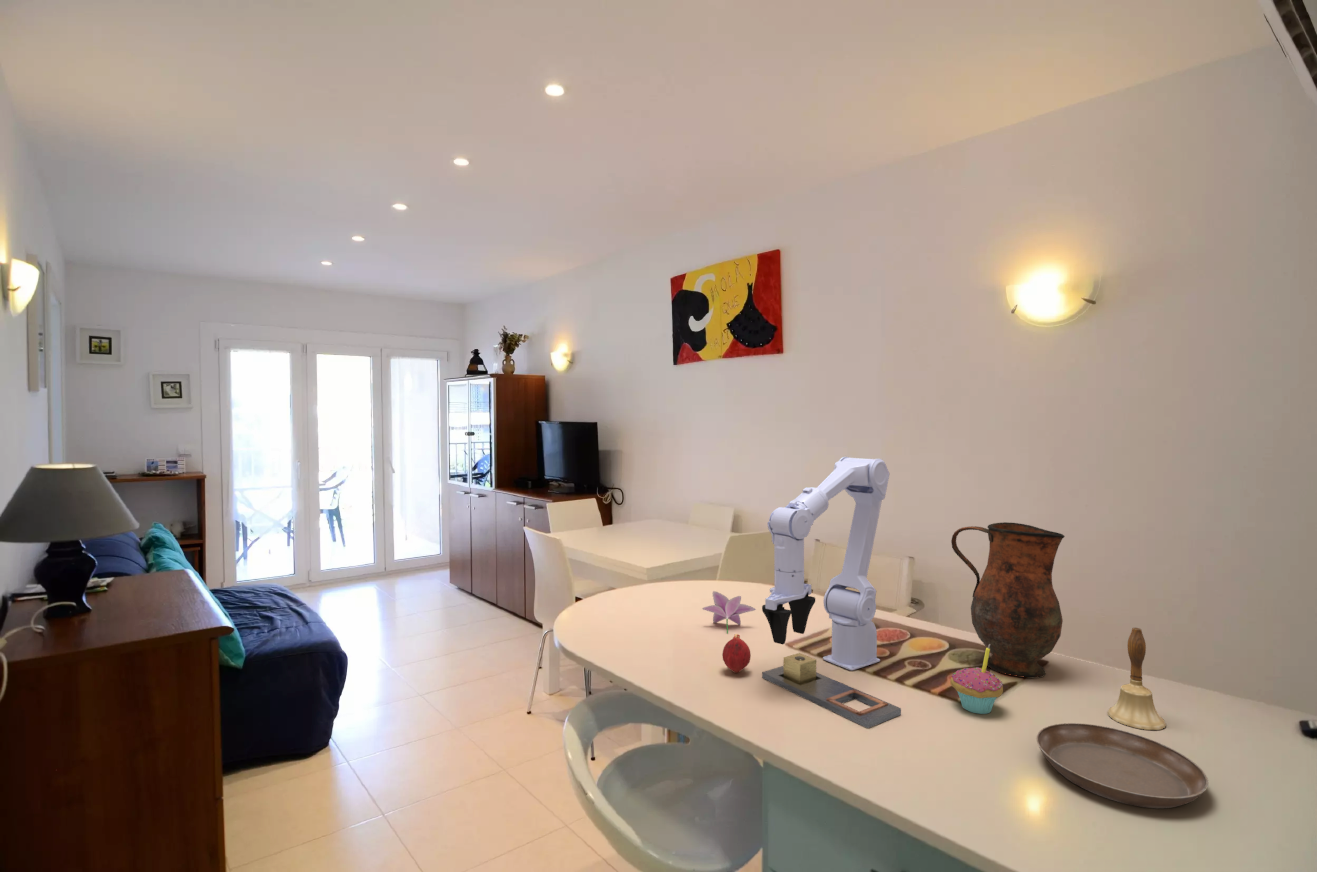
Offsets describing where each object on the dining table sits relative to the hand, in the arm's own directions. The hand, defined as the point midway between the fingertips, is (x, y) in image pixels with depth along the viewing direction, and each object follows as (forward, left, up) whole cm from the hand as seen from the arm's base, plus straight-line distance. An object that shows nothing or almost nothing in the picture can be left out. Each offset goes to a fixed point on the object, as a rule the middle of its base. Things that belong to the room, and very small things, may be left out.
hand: (789, 637), depth 129 cm
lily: (-12, -33, -10) cm, 37 cm away
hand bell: (-39, +45, -10) cm, 60 cm away
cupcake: (-20, +27, -10) cm, 35 cm away
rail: (-2, +8, -9) cm, 12 cm away
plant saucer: (-16, +51, -10) cm, 54 cm away
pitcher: (-44, +19, -10) cm, 49 cm away
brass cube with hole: (-2, +1, -10) cm, 10 cm away
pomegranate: (+5, -10, -10) cm, 15 cm away
